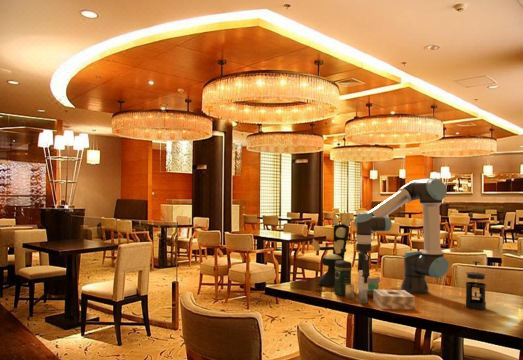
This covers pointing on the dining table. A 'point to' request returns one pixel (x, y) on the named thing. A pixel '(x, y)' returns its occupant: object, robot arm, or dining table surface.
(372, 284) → the food container
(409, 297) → the tissue box
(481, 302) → the french press
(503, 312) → the dining table surface
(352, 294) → the brass pin
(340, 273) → the coffee jar
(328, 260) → the dark tall irregular piece
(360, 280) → the steel pin
